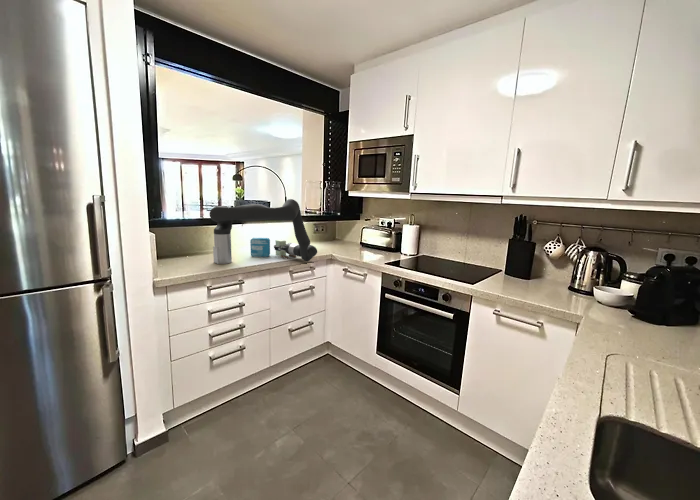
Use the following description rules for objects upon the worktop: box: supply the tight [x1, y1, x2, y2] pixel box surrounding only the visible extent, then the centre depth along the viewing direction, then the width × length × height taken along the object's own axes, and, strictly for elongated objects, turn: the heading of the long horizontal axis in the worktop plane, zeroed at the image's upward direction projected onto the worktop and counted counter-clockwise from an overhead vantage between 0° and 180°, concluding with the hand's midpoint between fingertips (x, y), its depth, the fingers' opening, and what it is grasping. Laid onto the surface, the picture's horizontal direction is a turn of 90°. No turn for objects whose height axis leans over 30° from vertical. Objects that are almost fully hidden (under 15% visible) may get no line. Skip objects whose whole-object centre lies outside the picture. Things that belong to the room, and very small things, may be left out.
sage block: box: [275, 239, 287, 257], centre depth 213 cm, size 4×6×10 cm
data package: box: [249, 237, 271, 258], centre depth 206 cm, size 12×4×12 cm, turn 98°
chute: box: [280, 254, 297, 259], centre depth 207 cm, size 7×7×1 cm
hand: (279, 246), depth 213 cm, fingers open, 8 cm apart
